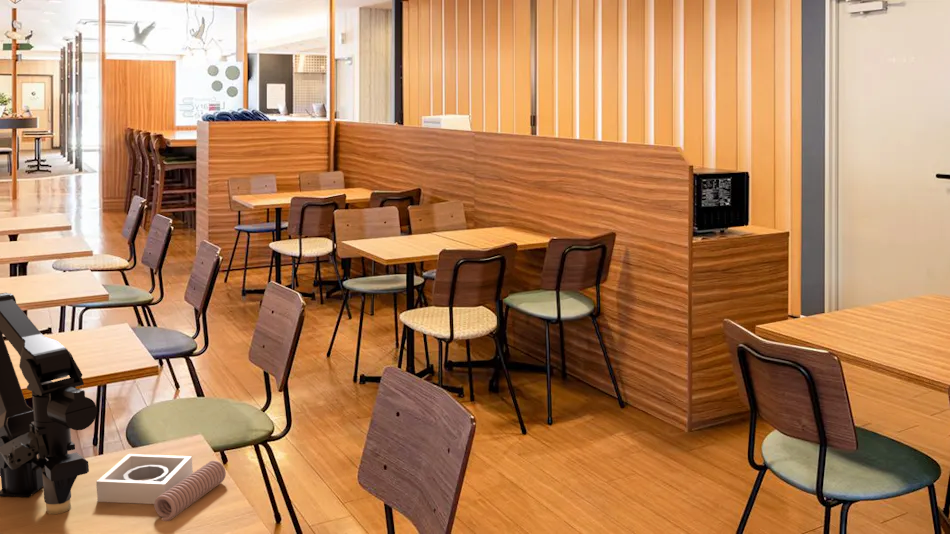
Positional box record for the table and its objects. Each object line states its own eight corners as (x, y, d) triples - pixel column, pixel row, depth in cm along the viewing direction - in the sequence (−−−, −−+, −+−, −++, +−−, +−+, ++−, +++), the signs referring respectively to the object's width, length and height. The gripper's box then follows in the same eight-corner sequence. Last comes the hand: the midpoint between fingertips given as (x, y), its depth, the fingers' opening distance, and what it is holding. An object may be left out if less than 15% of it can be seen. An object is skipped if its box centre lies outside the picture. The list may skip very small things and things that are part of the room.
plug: (40, 514, 153) (36, 472, 151) (53, 503, 157) (50, 462, 156) (64, 515, 153) (60, 473, 151) (76, 504, 157) (73, 463, 156)
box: (97, 501, 158) (96, 481, 157) (129, 472, 171) (128, 453, 170) (165, 504, 157) (164, 484, 157) (192, 475, 170) (191, 456, 169)
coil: (174, 501, 150) (229, 461, 167) (151, 494, 151) (208, 456, 168) (172, 525, 151) (228, 483, 168) (150, 518, 152) (207, 478, 169)
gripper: (-12, 412, 153) (-5, 493, 156) (16, 443, 140) (23, 531, 142) (54, 399, 161) (60, 477, 163) (86, 427, 147) (92, 511, 150)
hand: (57, 498), depth 155 cm, fingers closed on plug, 4 cm apart
